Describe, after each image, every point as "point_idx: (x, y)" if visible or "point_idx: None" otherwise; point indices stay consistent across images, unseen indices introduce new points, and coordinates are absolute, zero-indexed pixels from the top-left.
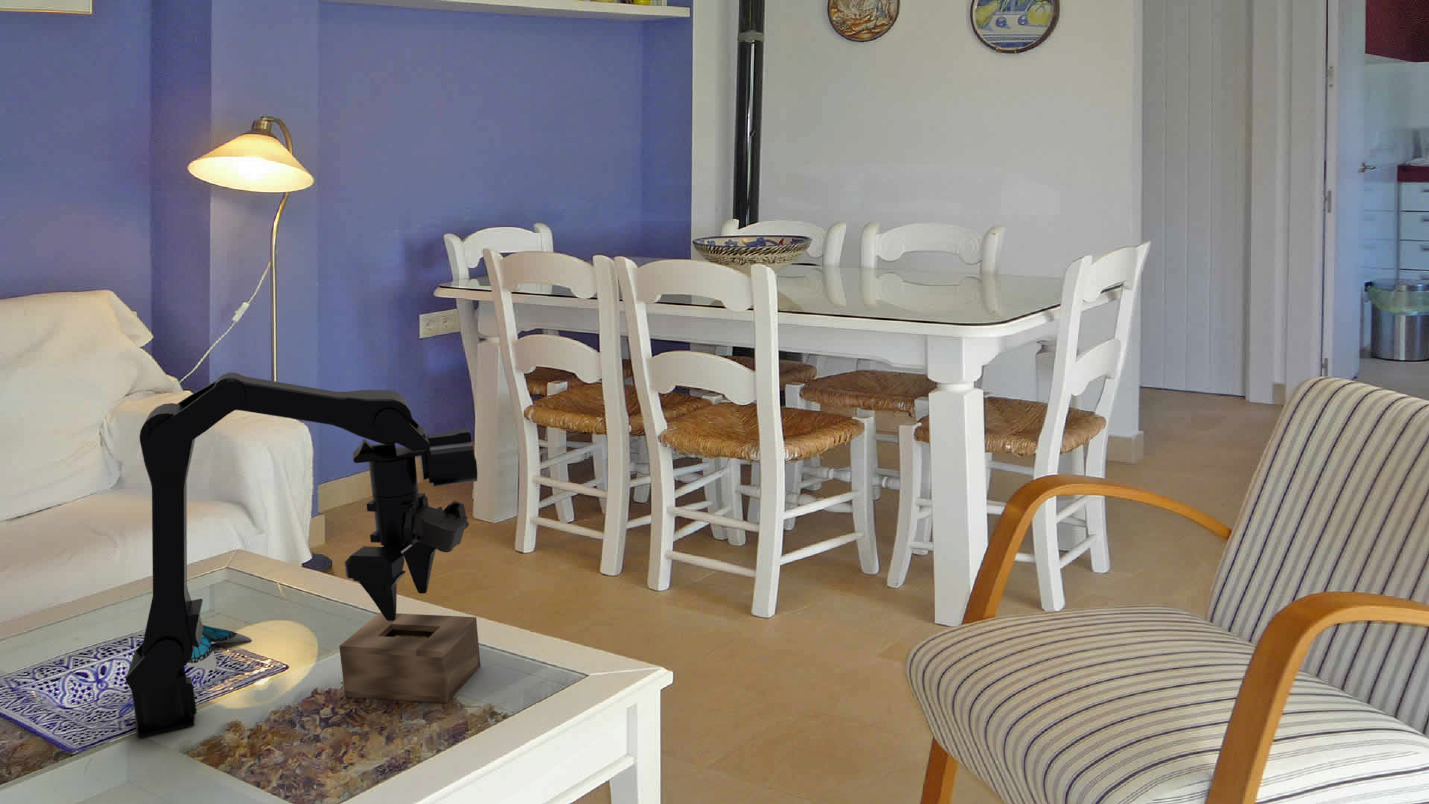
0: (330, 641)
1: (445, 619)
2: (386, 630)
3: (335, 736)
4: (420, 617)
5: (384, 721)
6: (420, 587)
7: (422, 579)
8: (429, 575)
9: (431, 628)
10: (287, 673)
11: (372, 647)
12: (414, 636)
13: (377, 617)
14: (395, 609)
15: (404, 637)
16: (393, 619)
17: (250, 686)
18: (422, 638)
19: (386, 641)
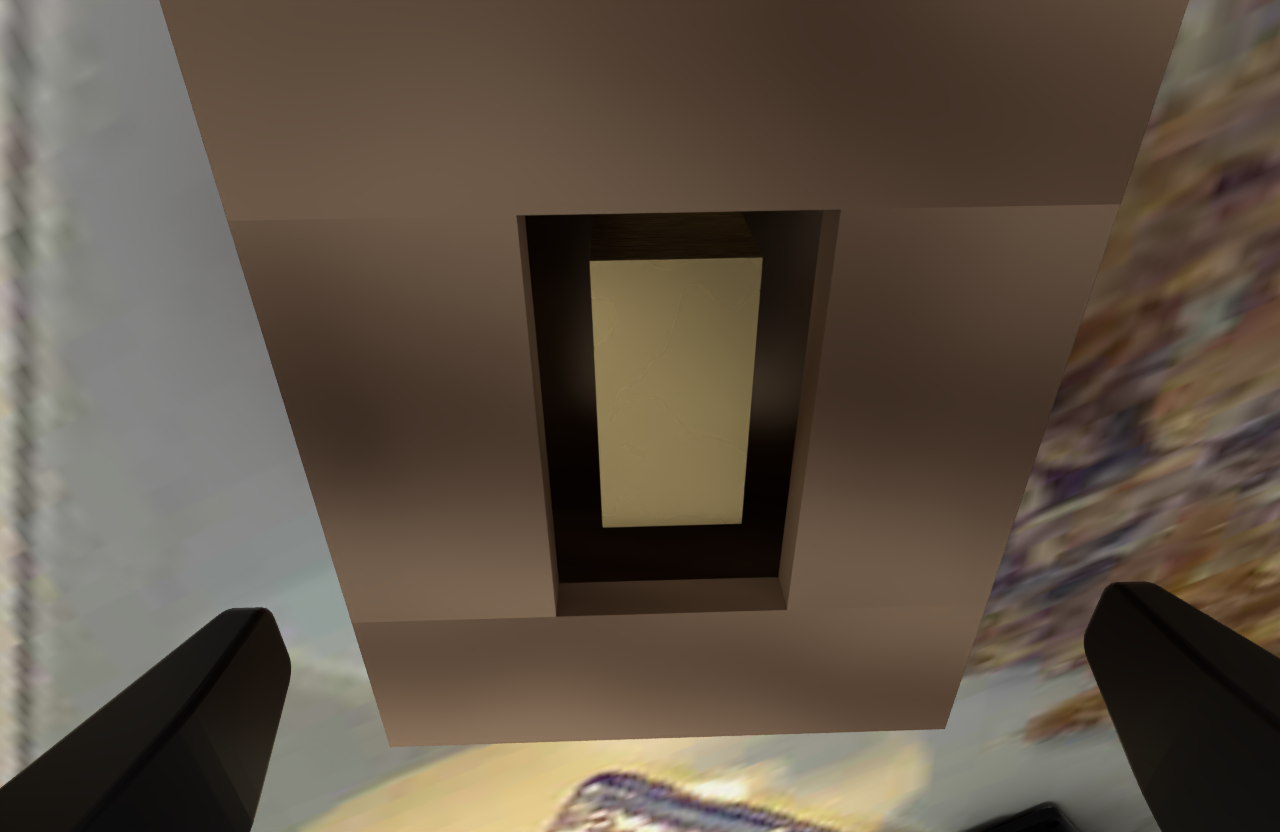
0: (351, 759)
1: (339, 244)
2: (640, 602)
3: (1262, 369)
4: (374, 483)
5: (1151, 207)
6: (251, 711)
7: (178, 800)
8: (32, 791)
9: (528, 304)
10: (650, 758)
11: (992, 560)
12: (600, 401)
13: (471, 726)
14: (1259, 677)
15: (630, 461)
16: (1158, 595)
17: (763, 799)
18: (631, 323)
19: (890, 519)
